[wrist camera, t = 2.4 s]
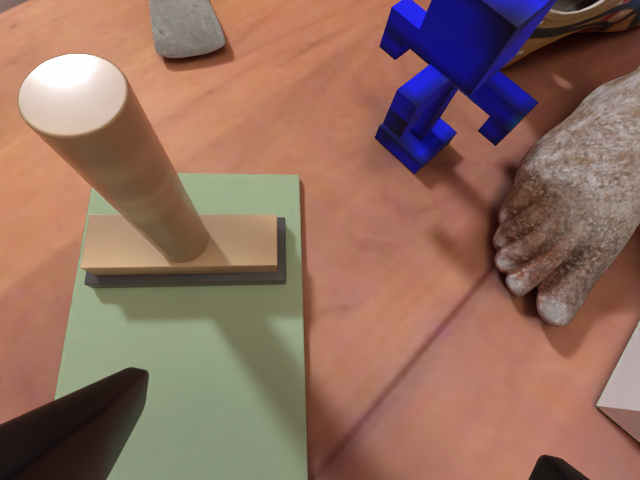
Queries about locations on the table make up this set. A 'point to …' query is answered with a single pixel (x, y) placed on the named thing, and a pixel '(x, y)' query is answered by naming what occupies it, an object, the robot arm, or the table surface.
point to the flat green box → (625, 389)
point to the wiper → (140, 188)
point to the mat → (204, 353)
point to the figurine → (456, 70)
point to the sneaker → (581, 21)
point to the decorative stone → (185, 28)
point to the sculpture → (574, 202)
